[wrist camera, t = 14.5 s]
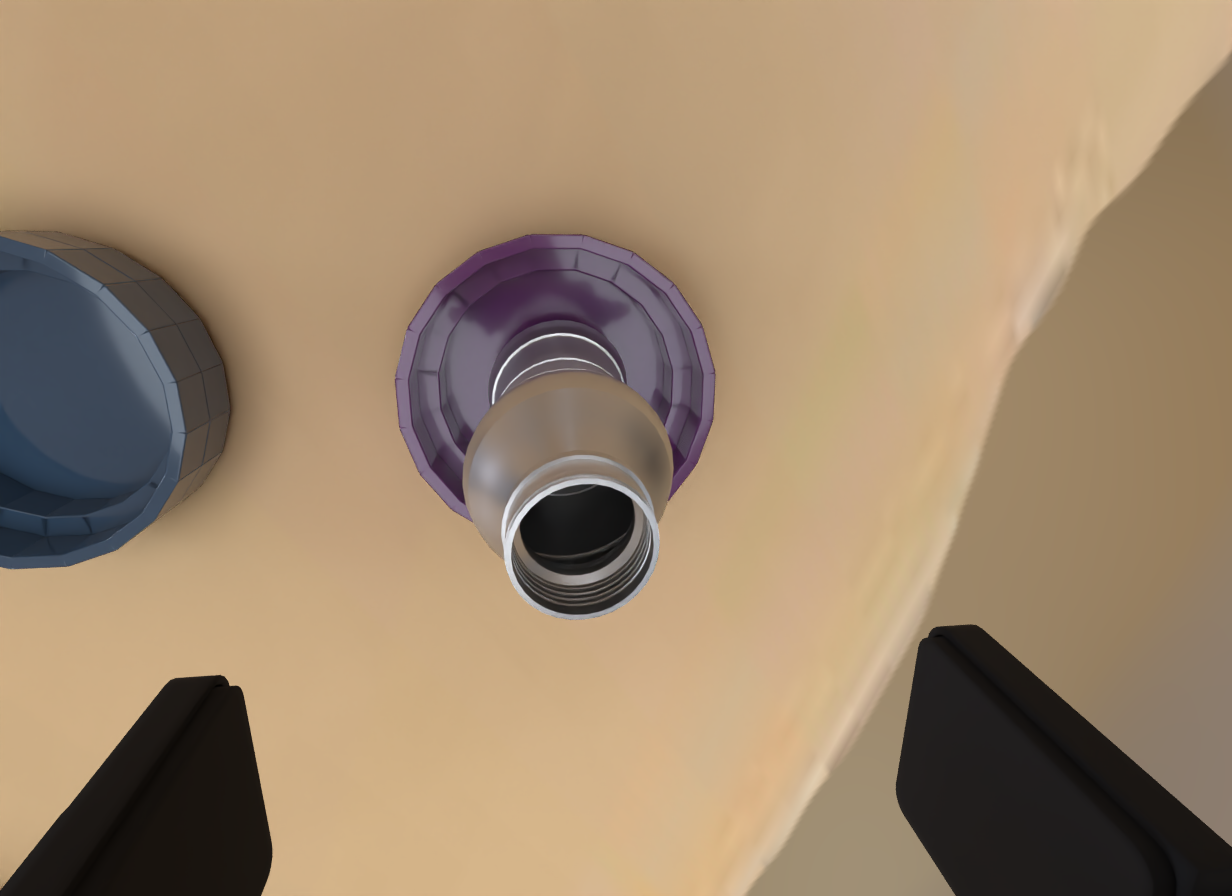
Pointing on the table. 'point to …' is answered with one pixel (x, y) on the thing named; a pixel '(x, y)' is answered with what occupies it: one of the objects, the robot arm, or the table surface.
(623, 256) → the plum bowl
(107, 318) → the blue bowl
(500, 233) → the table surface
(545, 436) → the silver metal bottle
